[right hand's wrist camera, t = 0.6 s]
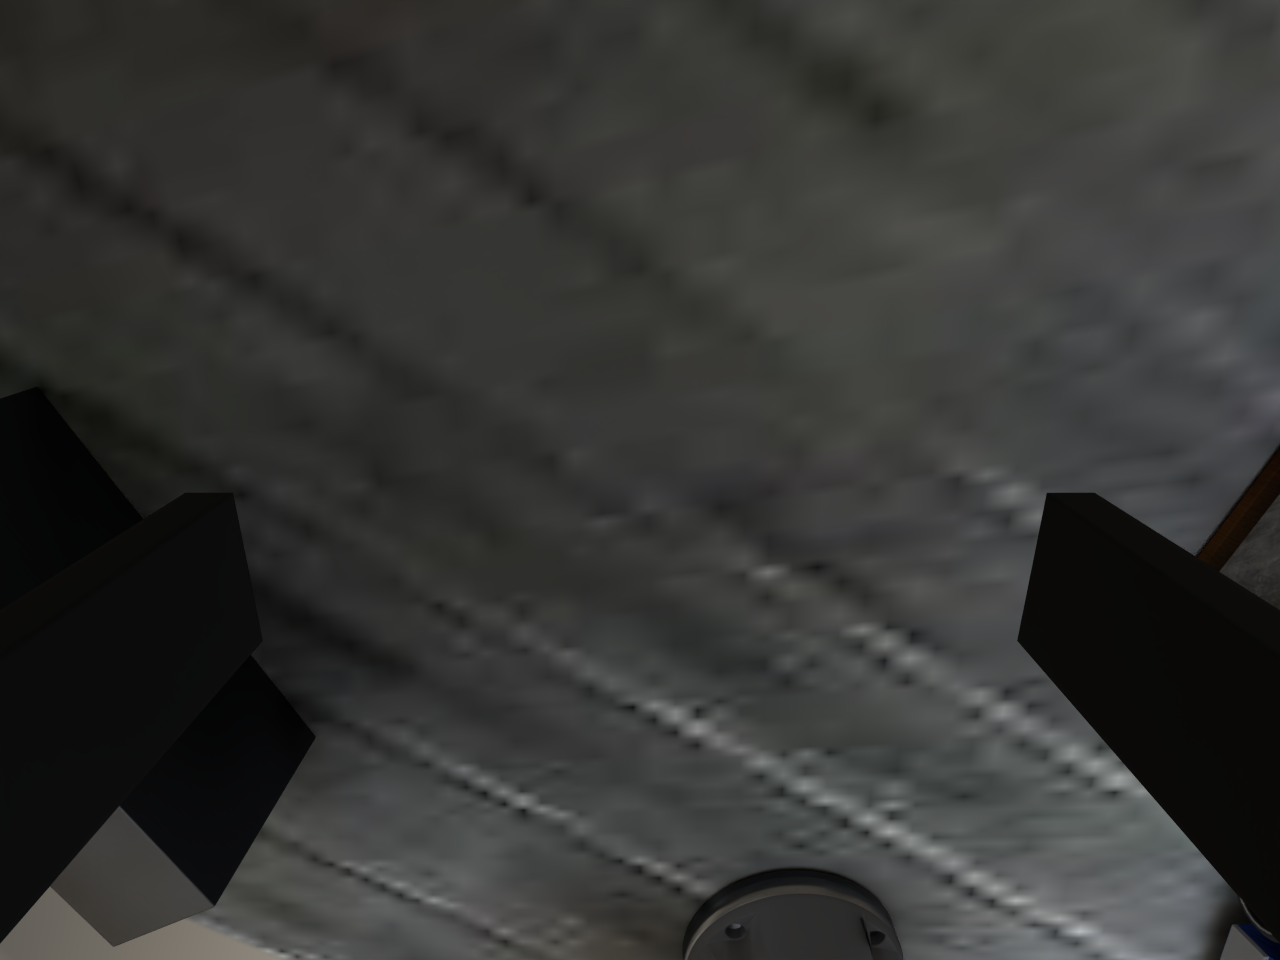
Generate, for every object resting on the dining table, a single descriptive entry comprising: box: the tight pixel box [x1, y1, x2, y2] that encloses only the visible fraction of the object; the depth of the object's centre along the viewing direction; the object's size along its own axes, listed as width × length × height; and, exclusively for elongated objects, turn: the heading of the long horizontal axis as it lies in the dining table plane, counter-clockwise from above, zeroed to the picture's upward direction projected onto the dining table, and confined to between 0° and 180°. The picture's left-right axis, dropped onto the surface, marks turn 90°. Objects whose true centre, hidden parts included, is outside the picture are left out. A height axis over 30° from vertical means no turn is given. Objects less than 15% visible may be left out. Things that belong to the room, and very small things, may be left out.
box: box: [0, 387, 315, 947], centre depth 38 cm, size 25×6×12 cm, turn 26°
